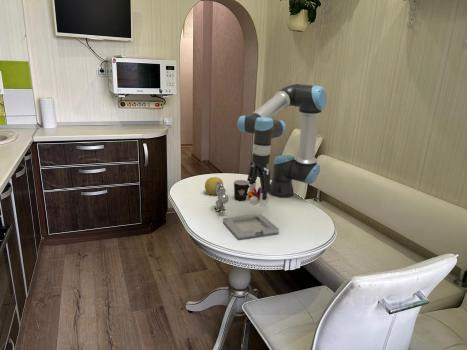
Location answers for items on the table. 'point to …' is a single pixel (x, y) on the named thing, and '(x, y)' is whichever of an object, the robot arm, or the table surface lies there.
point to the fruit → (212, 185)
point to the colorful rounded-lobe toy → (255, 196)
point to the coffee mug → (241, 190)
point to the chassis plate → (250, 226)
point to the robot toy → (221, 196)
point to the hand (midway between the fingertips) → (256, 201)
